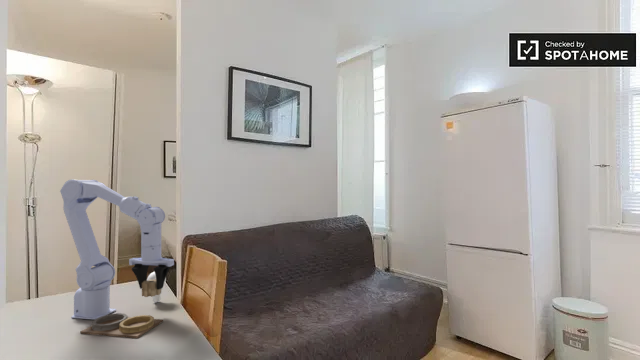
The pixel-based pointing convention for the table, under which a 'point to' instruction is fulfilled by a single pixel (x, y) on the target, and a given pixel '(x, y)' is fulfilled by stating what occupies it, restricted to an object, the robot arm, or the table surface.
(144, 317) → the gear board
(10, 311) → the table surface
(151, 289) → the gear
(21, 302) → the table surface
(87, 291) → the robot arm
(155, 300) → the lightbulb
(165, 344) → the table surface
